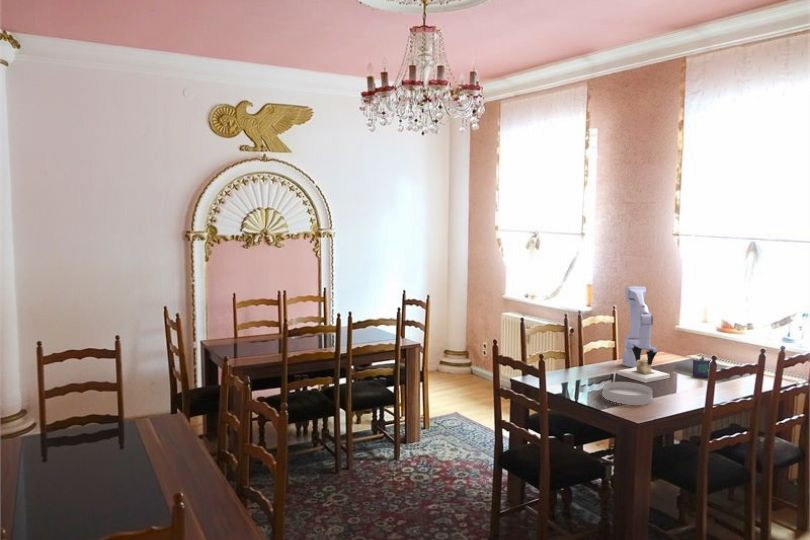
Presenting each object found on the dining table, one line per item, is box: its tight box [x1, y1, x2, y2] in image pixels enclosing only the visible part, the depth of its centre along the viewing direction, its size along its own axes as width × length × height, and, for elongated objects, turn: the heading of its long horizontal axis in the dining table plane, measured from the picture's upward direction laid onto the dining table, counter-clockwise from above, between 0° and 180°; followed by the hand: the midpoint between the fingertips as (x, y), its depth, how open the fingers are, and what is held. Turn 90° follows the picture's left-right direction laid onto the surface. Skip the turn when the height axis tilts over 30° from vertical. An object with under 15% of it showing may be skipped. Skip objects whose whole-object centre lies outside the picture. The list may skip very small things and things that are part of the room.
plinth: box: [617, 367, 671, 384], centre depth 333 cm, size 18×18×2 cm
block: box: [637, 358, 652, 374], centre depth 333 cm, size 5×5×6 cm
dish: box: [601, 381, 654, 406], centre depth 295 cm, size 22×22×5 cm
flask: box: [692, 356, 712, 378], centre depth 332 cm, size 9×3×11 cm, turn 87°
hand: (643, 363), depth 332 cm, fingers open, 7 cm apart
